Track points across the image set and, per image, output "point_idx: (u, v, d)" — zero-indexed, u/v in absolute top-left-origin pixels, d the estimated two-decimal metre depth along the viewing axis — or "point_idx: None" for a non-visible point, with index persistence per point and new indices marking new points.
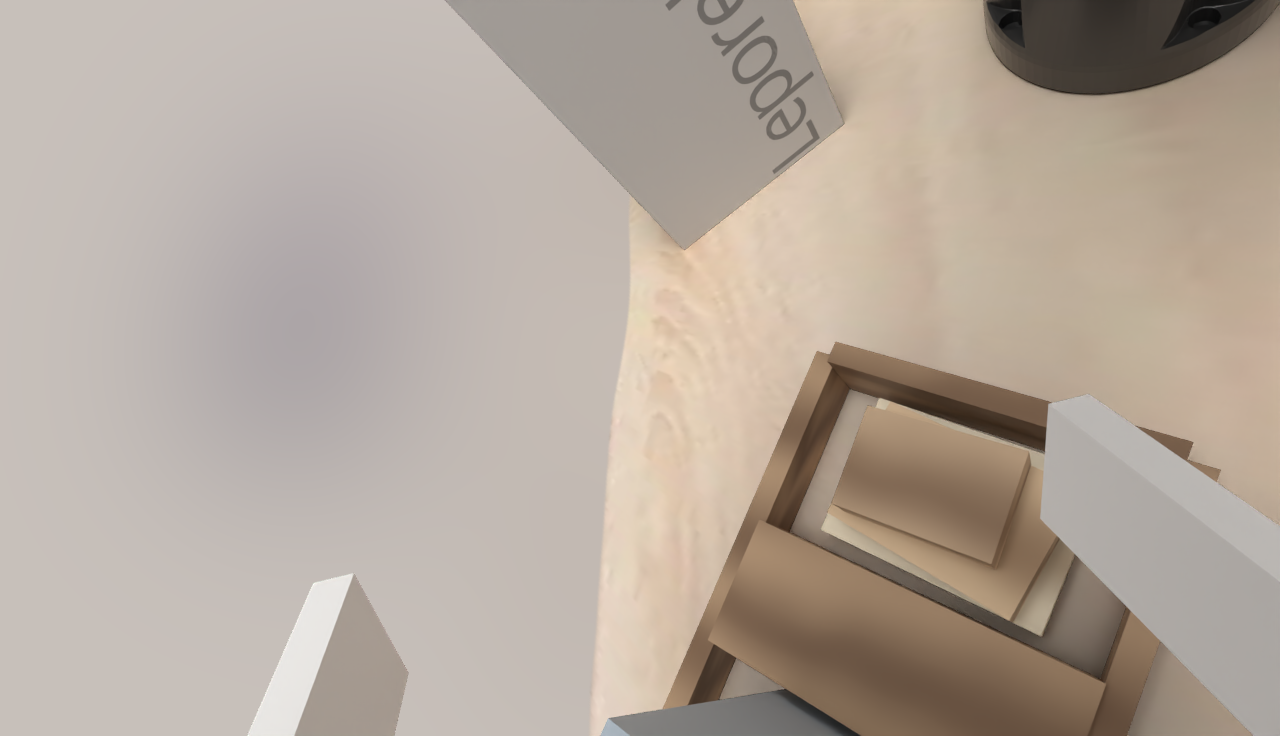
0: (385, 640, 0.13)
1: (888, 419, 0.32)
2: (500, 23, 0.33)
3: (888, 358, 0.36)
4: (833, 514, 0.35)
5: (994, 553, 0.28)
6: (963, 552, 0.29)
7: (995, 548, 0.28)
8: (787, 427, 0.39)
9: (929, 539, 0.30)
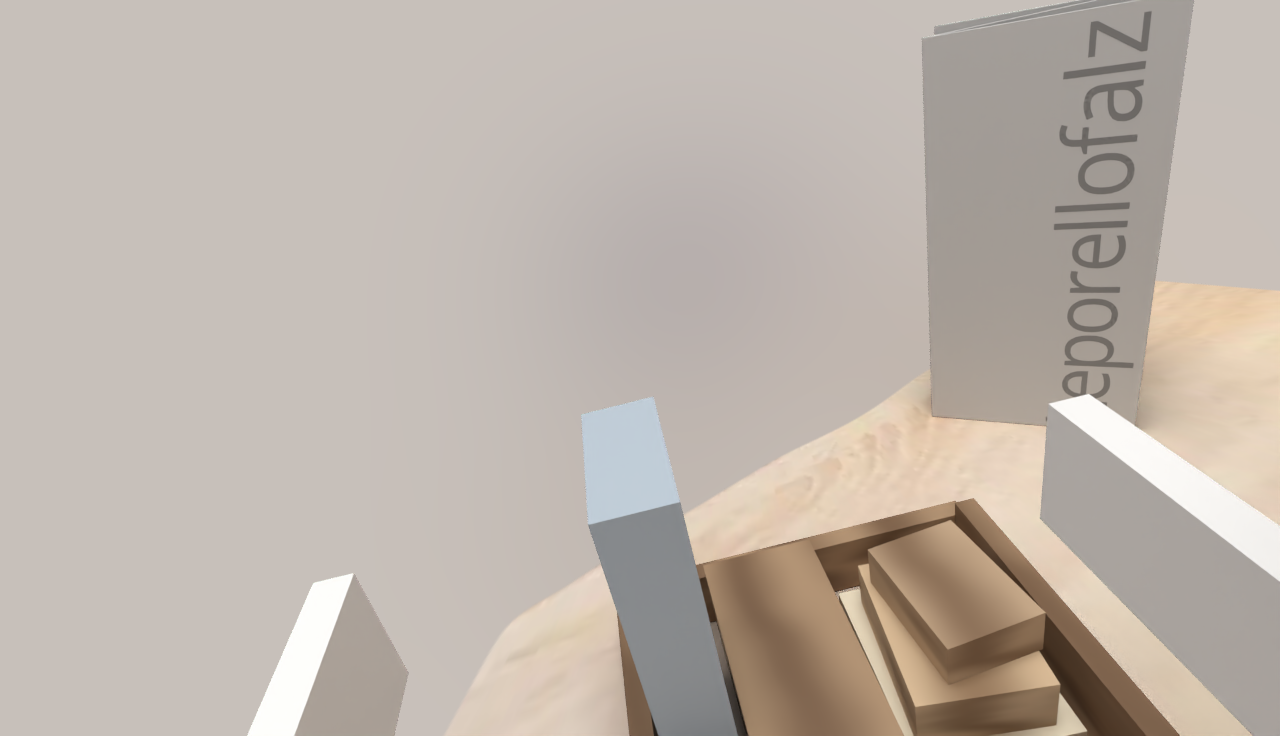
0: (385, 640, 0.13)
1: (957, 535, 0.37)
2: (942, 155, 0.48)
3: (999, 530, 0.40)
4: (860, 569, 0.39)
5: (956, 647, 0.31)
6: (934, 631, 0.32)
7: (960, 644, 0.31)
8: (885, 520, 0.44)
9: (916, 609, 0.33)
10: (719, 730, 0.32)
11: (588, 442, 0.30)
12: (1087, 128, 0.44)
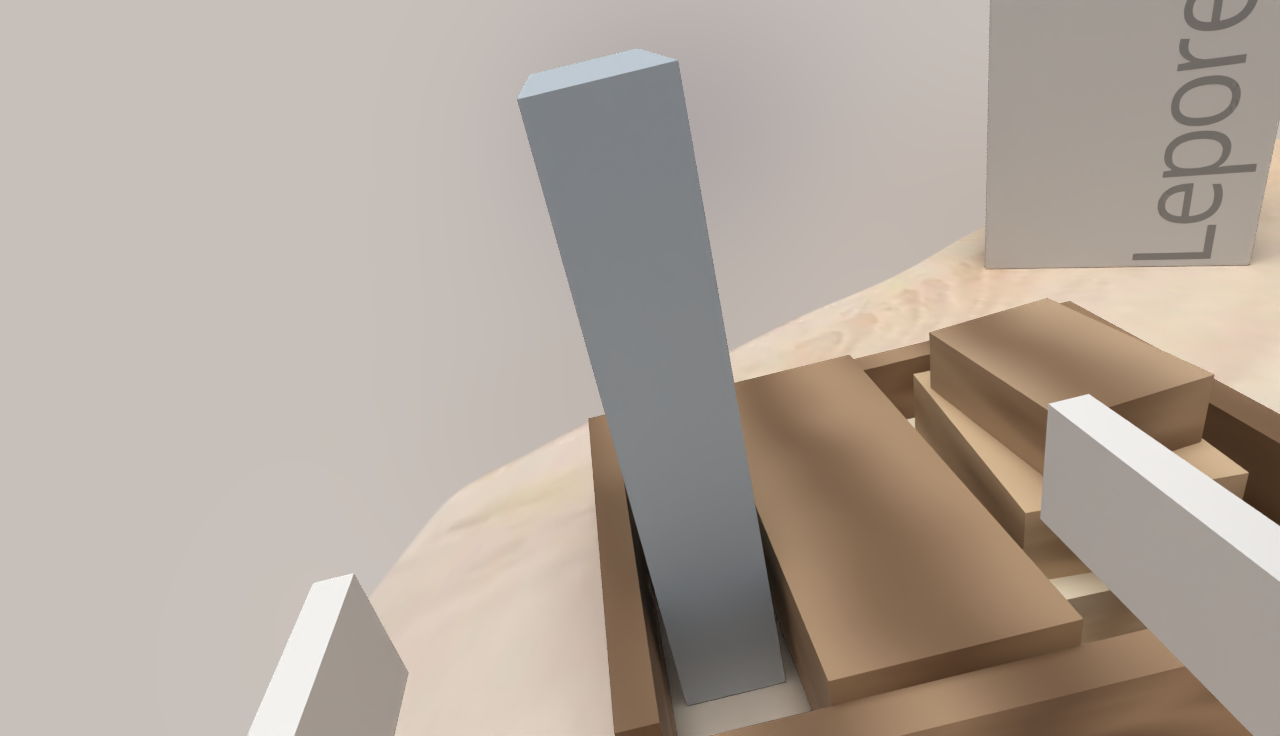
0: (385, 640, 0.13)
1: (1059, 310, 0.26)
2: None
3: (1114, 326, 0.29)
4: (918, 377, 0.29)
5: None
6: (1039, 403, 0.21)
7: None
8: None
9: (1009, 383, 0.23)
10: (735, 543, 0.21)
11: (535, 78, 0.19)
12: None
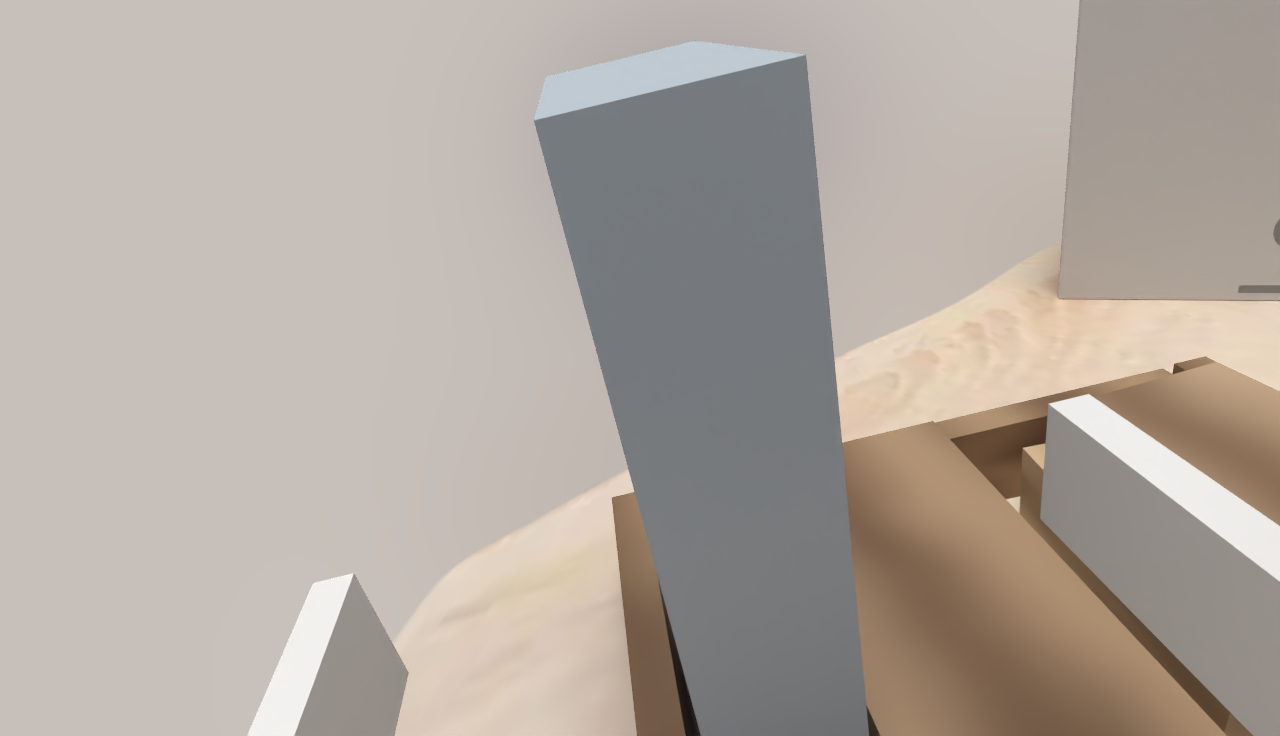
0: (385, 640, 0.13)
1: (1239, 382, 0.20)
2: None
3: None
4: (1030, 453, 0.23)
5: None
6: None
7: None
8: (1050, 398, 0.27)
9: None
10: (832, 735, 0.15)
11: (556, 82, 0.13)
12: None
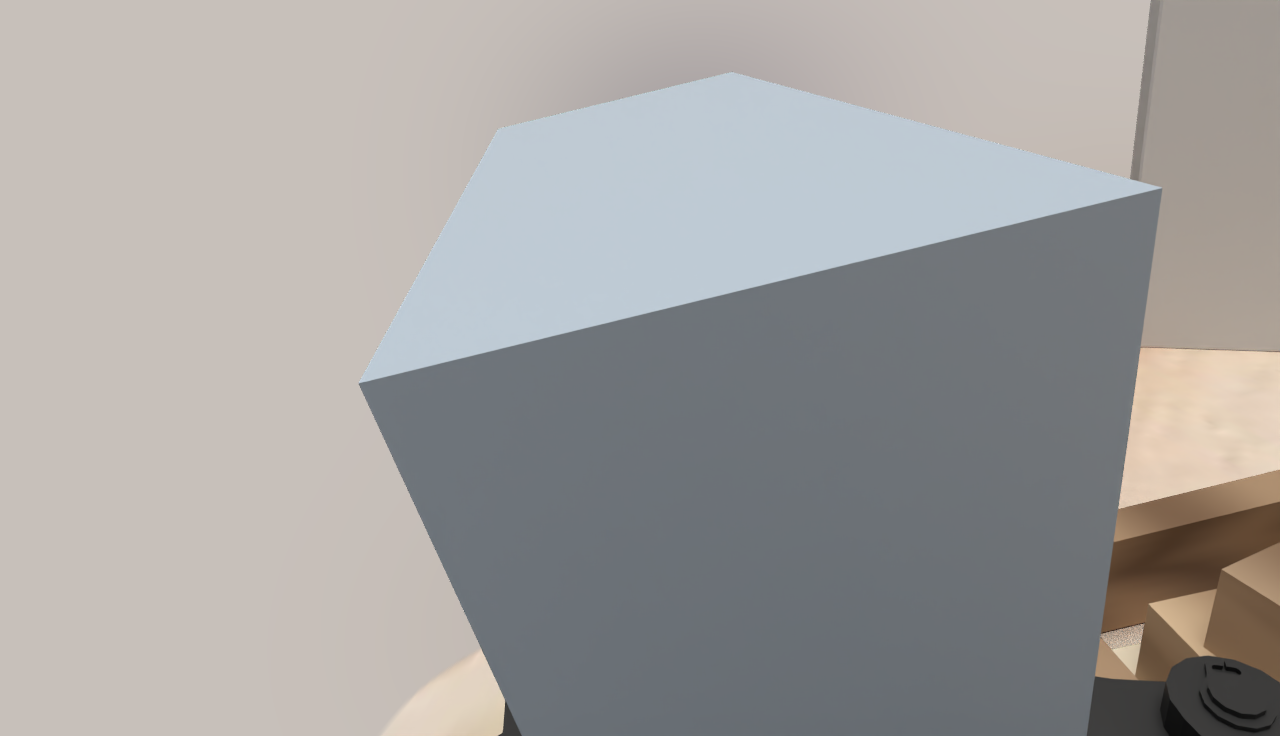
0: None
1: None
2: None
3: None
4: (1161, 613, 0.17)
5: None
6: None
7: None
8: (1156, 504, 0.22)
9: None
10: None
11: (503, 153, 0.08)
12: None
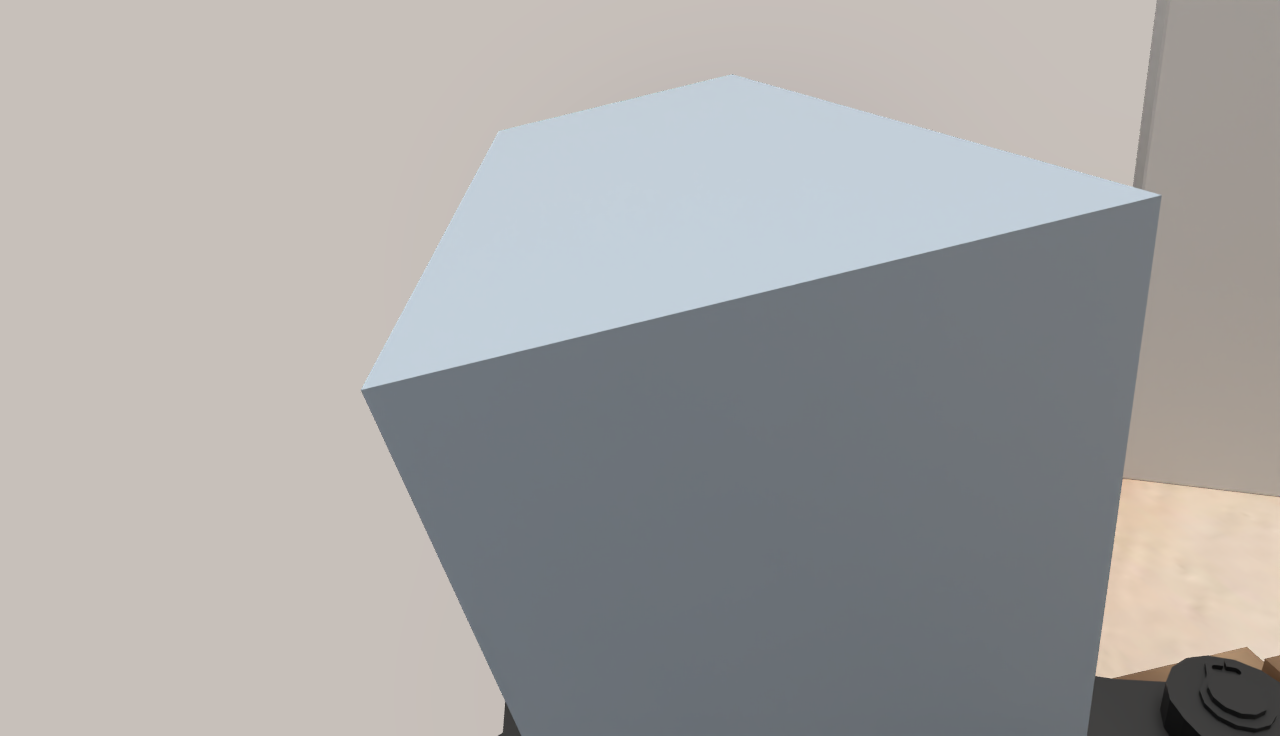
0: None
1: None
2: (1191, 73, 0.30)
3: None
4: None
5: None
6: None
7: None
8: (1128, 679, 0.26)
9: None
10: None
11: (503, 156, 0.08)
12: None
